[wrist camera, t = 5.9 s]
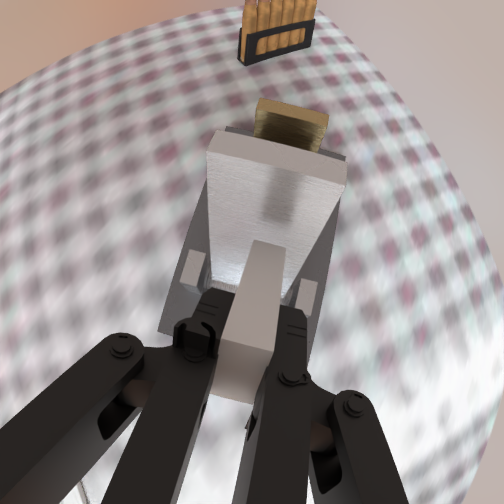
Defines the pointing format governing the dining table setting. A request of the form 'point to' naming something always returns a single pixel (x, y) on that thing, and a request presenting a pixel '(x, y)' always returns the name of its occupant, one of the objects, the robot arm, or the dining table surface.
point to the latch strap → (266, 204)
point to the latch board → (197, 240)
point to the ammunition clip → (275, 28)
